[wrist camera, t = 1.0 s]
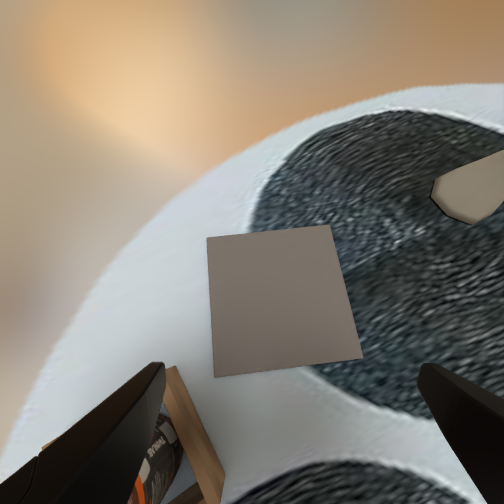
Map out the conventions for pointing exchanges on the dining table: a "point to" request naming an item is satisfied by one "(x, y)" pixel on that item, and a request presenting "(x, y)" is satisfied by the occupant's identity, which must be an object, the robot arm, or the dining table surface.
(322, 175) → the dining table surface
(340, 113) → the dining table surface
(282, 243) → the grey-brown square block
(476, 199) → the flask
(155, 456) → the supplement bottle
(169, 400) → the walnut box
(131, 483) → the robot arm
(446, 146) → the dining table surface
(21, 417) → the dining table surface
